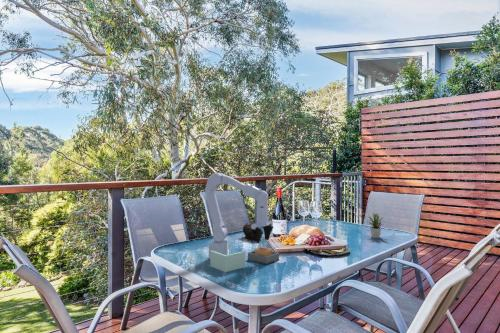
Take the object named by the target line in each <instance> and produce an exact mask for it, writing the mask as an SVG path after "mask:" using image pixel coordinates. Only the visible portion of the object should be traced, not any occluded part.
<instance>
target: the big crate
mask: <svg viewBox="0 0 500 333" xmlns="http://www.w3.org/2000/svg"><path fill="white" fill-rule="evenodd" d="M247 260H248V261H251V262H255V263H260V264H264V265H269V264H271V263H273V262H277V261H279V260H280V252H276V251H272V255H270V256H267V257H265V256H261V255H257V254H255V250H252V251H250V252H247Z"/></svg>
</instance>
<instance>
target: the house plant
mask: <svg viewBox="0 0 500 333" xmlns="http://www.w3.org/2000/svg"><path fill="white" fill-rule="evenodd" d="M372 213H373V214H372V215H373V216H372V217H373V218H372V217H371V216H370V215H369V214H366V216H367V218H369V220H366V222H365V223H366V224H367V223H368V222H369V224H370V227H369V230H370V236H371V238H373V239H380V238H381V232H382V227H381V226H384V223H385V221H382V219H383V217H381V218H380V216H379V214H378V212H376V213H374V212H372ZM382 222H383V224H382Z"/></svg>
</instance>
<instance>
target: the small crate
mask: <svg viewBox="0 0 500 333" xmlns="http://www.w3.org/2000/svg"><path fill="white" fill-rule="evenodd" d="M254 251H255V254H257V255H261V256H265V257H267V256H270V255H272V252H273V249H272V248H268V247H263V246H260V247H256V248H254Z"/></svg>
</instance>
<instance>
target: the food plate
mask: <svg viewBox="0 0 500 333" xmlns="http://www.w3.org/2000/svg"><path fill="white" fill-rule="evenodd" d="M310 246H311V245H310ZM307 251H309V250H307ZM309 252H311V253H313V255H314V254H315V255H320V256H321V255H322V256H338V255H343V254H347V253H349V252H351V249H350V247H348V246H346V247H345V248H342V249H340V250H331V251H329V250H323V251H322V250H320V249H317V250H315V252H313V251H309ZM324 253H326V254H324ZM327 253H328V254H327Z"/></svg>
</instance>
